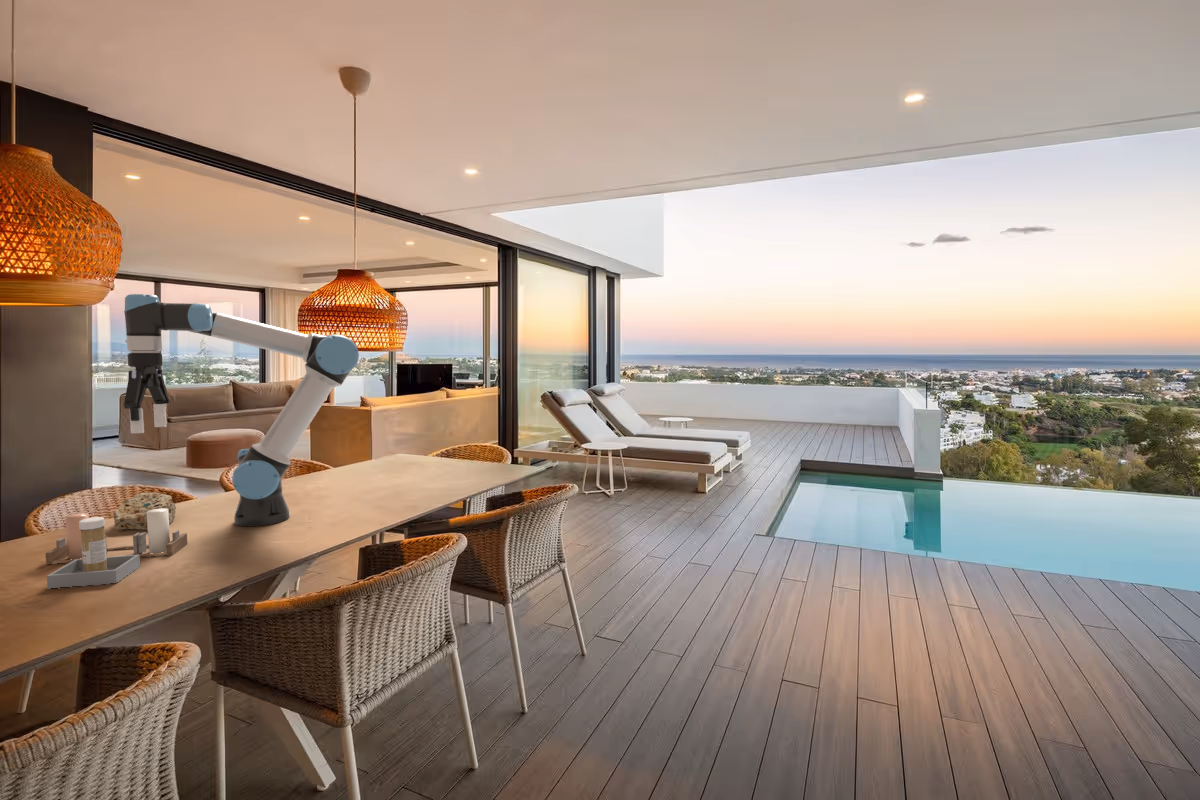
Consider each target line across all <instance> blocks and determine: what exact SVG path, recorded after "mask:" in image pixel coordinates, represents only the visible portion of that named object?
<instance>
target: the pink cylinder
mask: <svg viewBox="0 0 1200 800" xmlns="http://www.w3.org/2000/svg"><path fill="white" fill-rule="evenodd" d="M87 518H90V514H89V513H88V512H78V513H77V512H76V513H72V514H68V515H65V517H64V519H65V520H64V521H65V532H66V534H65V535H66V542H67V549H68V556H67V560H69V559H80V558H82V546H81V544H82V542H81V531H80V529H79V521H81V520H83V519H87Z"/></svg>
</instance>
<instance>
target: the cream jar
mask: <svg viewBox="0 0 1200 800" xmlns="http://www.w3.org/2000/svg"><path fill="white" fill-rule="evenodd" d="M147 524H148V530H147V537H148V541H147V542H148V545H149V548H148V554H150V553H161V552H164V553H167V552H166V551H167V548H166V544H168V543H169V542H171V535H170V534H171V532H170V524H169V514H168V509H166V508H161V509H153V510H149V511H147Z"/></svg>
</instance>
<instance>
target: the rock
mask: <svg viewBox="0 0 1200 800" xmlns="http://www.w3.org/2000/svg"><path fill="white" fill-rule="evenodd" d="M161 508H166V509H168V514H169V525H170V524H172V523H173V520H175V518H176V516H175V514H176V509H177V507H176V504H175V502H173V498H172V495H169V494H168V495H167V494H165V493H159V492H152V491H151V492H150V491H148V492H142V493H138V494H135V495H133V496H132V497H131V498H129V499H128V498H126V499H125V500H123V502H122V503H121V504H120V505H119V507H118V508H116V509H115V510H114V511H113V513H112V514H113V520H114V526H115V528H116V530H117V531H122V530H126V529H127V530H128V529H129V530H138V531H139V530H146V531H148V524H147V511H149V510H153V509H161Z"/></svg>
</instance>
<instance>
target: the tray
mask: <svg viewBox="0 0 1200 800" xmlns="http://www.w3.org/2000/svg"><path fill="white" fill-rule="evenodd" d="M106 557H107V559H106V563H107V570H105V571H92V572H84V570H83V560H82V559H76V560H74V561H72V562H70V563H66V564H65V565H63V566H62V567H60V568H58V569H56V570H55V571H53V572H51V573H49V574H48V575H46V585H47V586H46V587H47V590H52V589H51V588H58V589H61V588H60V587H70V588H73V587H72V586H82V587H88V586H87V585H94V586H102V585H101V584H106V585H111V584H110V583H117V582H118V583H119V581H120V580H121V581H123V580H124V579H125V578H127V577H128V576H129V575H131V574H132V573H134V572H135V571H137V570H138V569H140V567H141V558H140V554H130V555H129V554H128V555H127V556H126V555H115V556H106ZM137 568H138V569H137ZM134 570H135V571H134ZM133 571H134V572H133ZM130 573H131V574H130ZM127 575H128V576H127ZM126 576H127V577H126ZM124 577H125V578H124ZM123 578H124V579H123ZM121 581H120V582H121ZM118 583H117V584H118Z"/></svg>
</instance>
